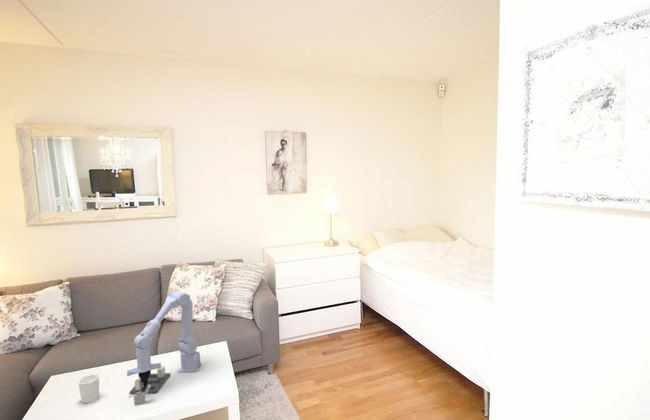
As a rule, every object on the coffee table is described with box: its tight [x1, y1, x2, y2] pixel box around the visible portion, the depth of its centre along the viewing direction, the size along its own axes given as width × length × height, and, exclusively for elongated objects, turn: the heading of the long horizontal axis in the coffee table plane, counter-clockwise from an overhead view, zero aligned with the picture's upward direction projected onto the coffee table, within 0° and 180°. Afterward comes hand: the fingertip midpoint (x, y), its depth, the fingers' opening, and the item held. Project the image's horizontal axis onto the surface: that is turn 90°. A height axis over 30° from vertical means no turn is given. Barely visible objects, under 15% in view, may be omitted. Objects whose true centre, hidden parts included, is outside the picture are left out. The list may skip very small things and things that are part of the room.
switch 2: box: [156, 365, 166, 378], centre depth 173 cm, size 2×3×4 cm
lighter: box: [133, 384, 151, 406], centre depth 154 cm, size 7×2×8 cm, turn 107°
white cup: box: [78, 373, 100, 404], centre depth 157 cm, size 8×8×10 cm
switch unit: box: [129, 372, 171, 395], centre depth 168 cm, size 13×15×1 cm
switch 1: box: [134, 377, 143, 390], centre depth 163 cm, size 2×3×4 cm
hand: (145, 385), depth 163 cm, fingers closed
